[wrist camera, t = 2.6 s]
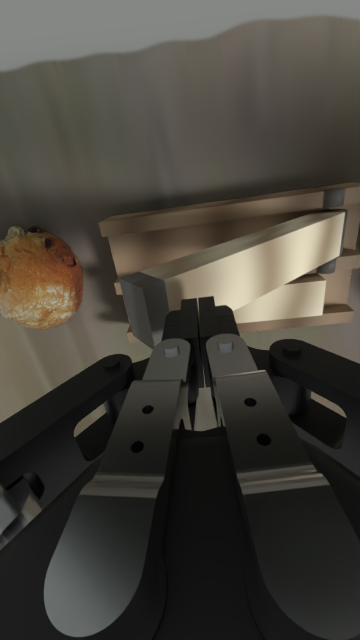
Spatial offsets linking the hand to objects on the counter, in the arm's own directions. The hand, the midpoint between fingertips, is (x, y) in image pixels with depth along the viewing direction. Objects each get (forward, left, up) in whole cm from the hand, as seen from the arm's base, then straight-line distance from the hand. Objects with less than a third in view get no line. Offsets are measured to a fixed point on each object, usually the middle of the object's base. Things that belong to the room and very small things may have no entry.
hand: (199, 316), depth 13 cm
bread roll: (+17, +1, -17) cm, 24 cm away
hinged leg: (-4, 0, -8) cm, 9 cm away
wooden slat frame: (-3, +3, -16) cm, 17 cm away
